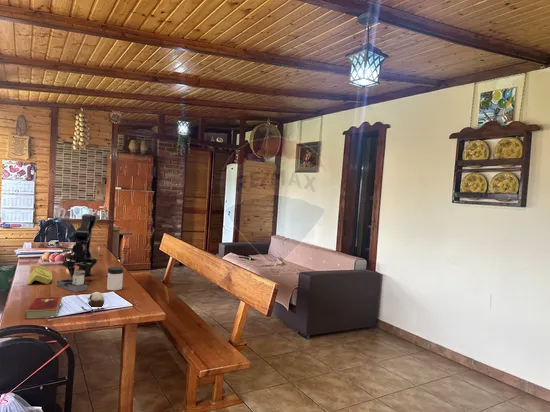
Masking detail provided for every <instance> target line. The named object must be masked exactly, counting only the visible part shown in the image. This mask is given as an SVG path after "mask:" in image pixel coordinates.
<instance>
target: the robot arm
mask: <svg viewBox="0 0 550 412" xmlns="http://www.w3.org/2000/svg"><path fill="white" fill-rule="evenodd" d="M97 222H98V217H97V216H95V215H94V214H93V215H92V214H89V213H85V214H83V215H81V223H80V226H79V227H77V229H76V230H75V231H74V233H73V234H74V235H73V239H72V243H75V244H74V245H73V246H72V249H71V250H72V252H73V254H72V253H69V254H66V256H65V257H66V260H64V261H62V267H64V268H66V269H67V270H68V273H69V275H70V279H72V276H73V275H74V272H75V268H76V267H75V266H77V267H78V269H77V270H84V271H85V276H84V277H89V276H93V274H91V272H92V271H91V270H92V269H93V267H94V266H95V264H97V263H98V260H97V259H96V258H93V257H92V256H93V254H92V252H91V243H92V241H91V240H92V236H93V235H92V232H93V229H94V227H95V226H96V223H97Z"/></svg>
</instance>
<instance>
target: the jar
mask: <svg viewBox="0 0 550 412" xmlns="http://www.w3.org/2000/svg"><path fill="white" fill-rule="evenodd" d="M123 279H124V267H121V266H110V267H108V268H107V280H106V281H107V282H106V289H107V290H108V291H119V290H122V289H123Z"/></svg>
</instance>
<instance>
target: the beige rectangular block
mask: <svg viewBox="0 0 550 412" xmlns="http://www.w3.org/2000/svg"><path fill="white" fill-rule="evenodd" d="M75 274H82V275H84V277H86V276H85V271H84V270H78V269H77V270H75V269H74V275H75Z"/></svg>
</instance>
